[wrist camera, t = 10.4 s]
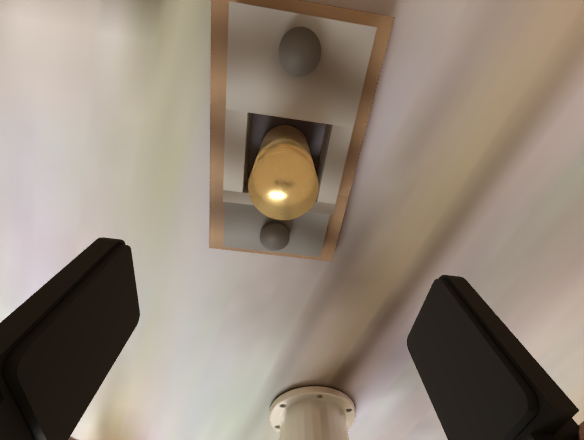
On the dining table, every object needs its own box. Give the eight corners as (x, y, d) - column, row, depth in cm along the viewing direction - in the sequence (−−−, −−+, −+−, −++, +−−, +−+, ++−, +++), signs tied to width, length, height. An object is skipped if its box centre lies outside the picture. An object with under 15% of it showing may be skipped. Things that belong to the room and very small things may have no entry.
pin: (304, 175, 25) (312, 223, 17) (259, 169, 25) (245, 215, 17) (312, 128, 23) (324, 159, 15) (263, 121, 23) (250, 149, 15)
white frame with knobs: (330, 254, 29) (336, 279, 26) (212, 241, 28) (201, 265, 25) (388, 20, 20) (410, 9, 16) (215, -12, 19) (199, -30, 15)
